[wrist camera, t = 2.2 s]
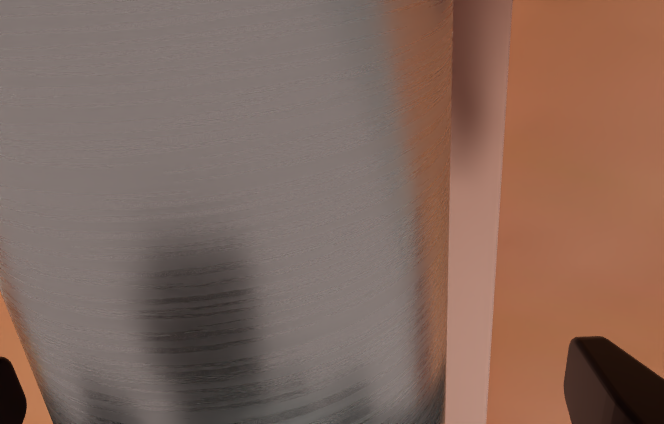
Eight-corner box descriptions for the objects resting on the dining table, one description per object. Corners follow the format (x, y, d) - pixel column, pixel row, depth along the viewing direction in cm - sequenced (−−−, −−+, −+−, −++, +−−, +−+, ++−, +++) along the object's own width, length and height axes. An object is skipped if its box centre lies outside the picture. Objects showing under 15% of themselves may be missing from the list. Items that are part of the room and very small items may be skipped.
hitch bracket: (6, -264, 8) (-579, -525, 3) (510, -317, 8) (814, -725, 3) (216, 549, 17) (154, 847, 12) (467, 546, 17) (520, 854, 11)
